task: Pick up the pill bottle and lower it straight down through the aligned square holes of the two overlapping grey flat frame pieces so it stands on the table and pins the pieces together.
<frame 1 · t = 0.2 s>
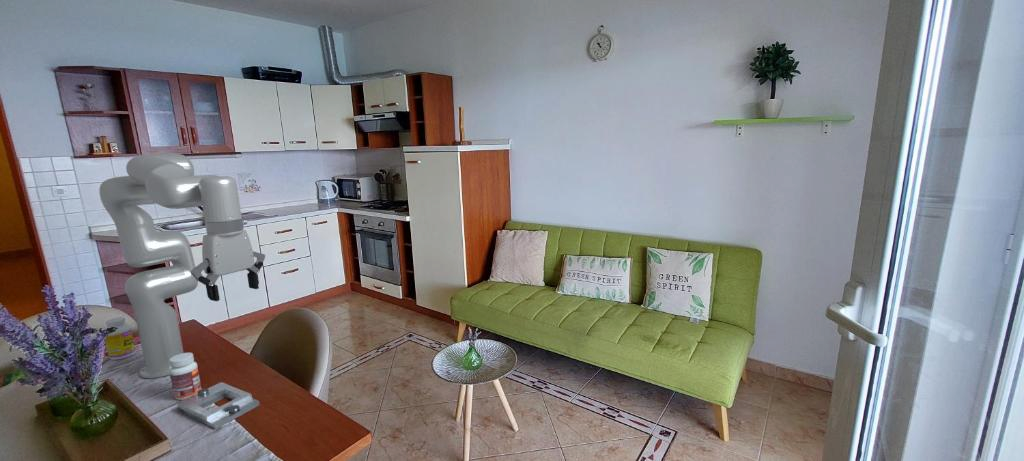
hand: (235, 294, 108), 31 cm above the table, tool pointing down, fingers open, 9 cm apart
supplement bottle: (122, 356, 143), on the table
pill bottle: (188, 395, 119), on the table
grey flat frame piece: (219, 408, 112), on the table
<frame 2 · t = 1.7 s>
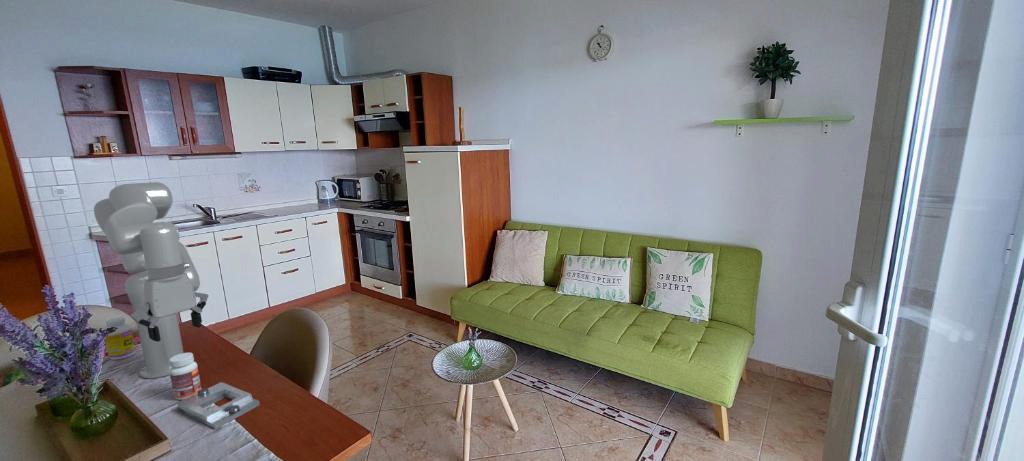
hand: (177, 333, 115), 18 cm above the table, tool pointing down, fingers open, 9 cm apart
nothing on the table moved.
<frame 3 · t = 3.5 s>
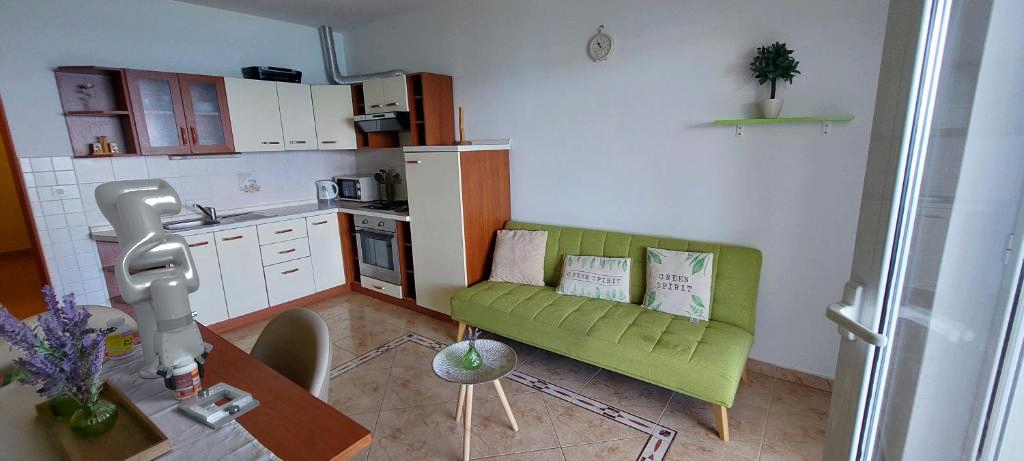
hand: (186, 382, 118), 4 cm above the table, tool pointing down, fingers closed on pill bottle, 6 cm apart
pill bottle: (188, 395, 119), on the table, touching gripper
everything else where it was.
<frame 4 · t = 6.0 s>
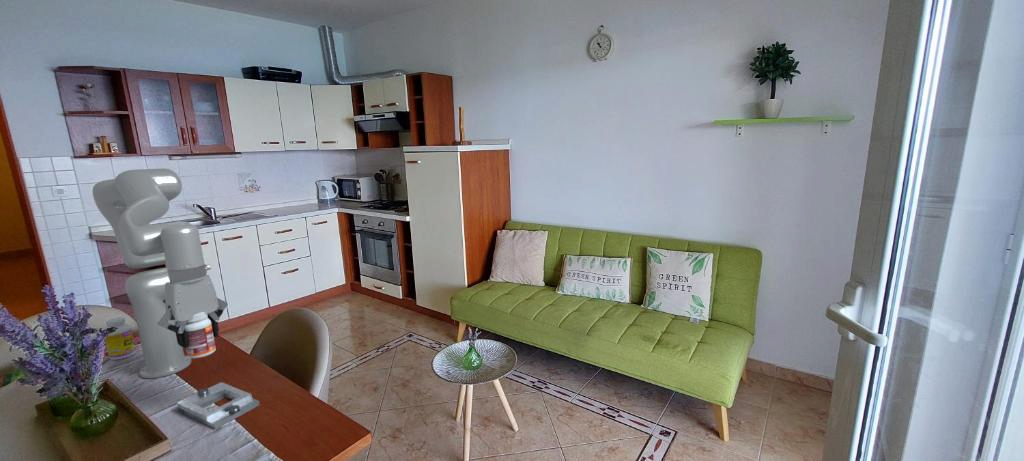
hand: (199, 340, 110), 18 cm above the table, tool pointing down, fingers closed on pill bottle, 6 cm apart
pill bottle: (202, 354, 111), point 14 cm above the table, touching gripper
everything else where it was.
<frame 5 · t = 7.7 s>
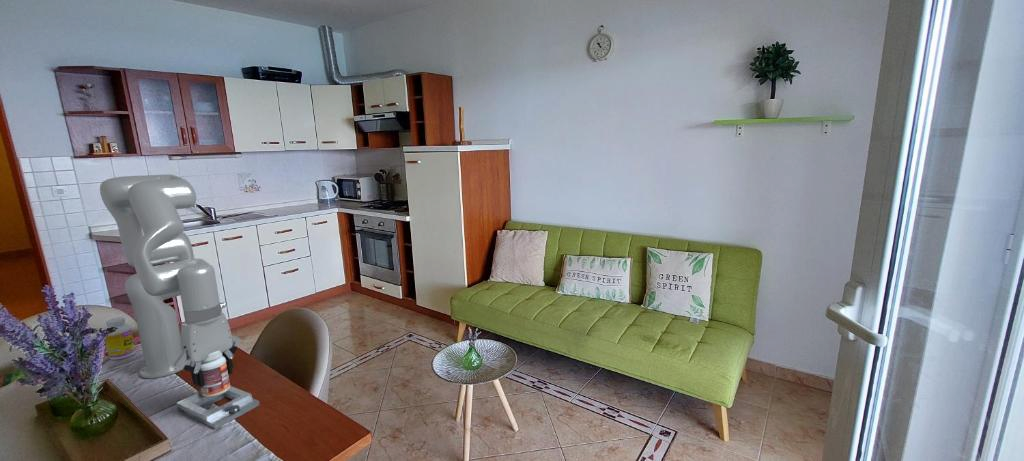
hand: (214, 378, 111), 8 cm above the table, tool pointing down, fingers closed on pill bottle, 6 cm apart
pill bottle: (216, 391, 111), point 5 cm above the table, touching gripper
everything else where it was.
when the fingers open (4 cm above the table, at t = 8.9 s): pill bottle stays where it is, resting in grey flat frame piece.
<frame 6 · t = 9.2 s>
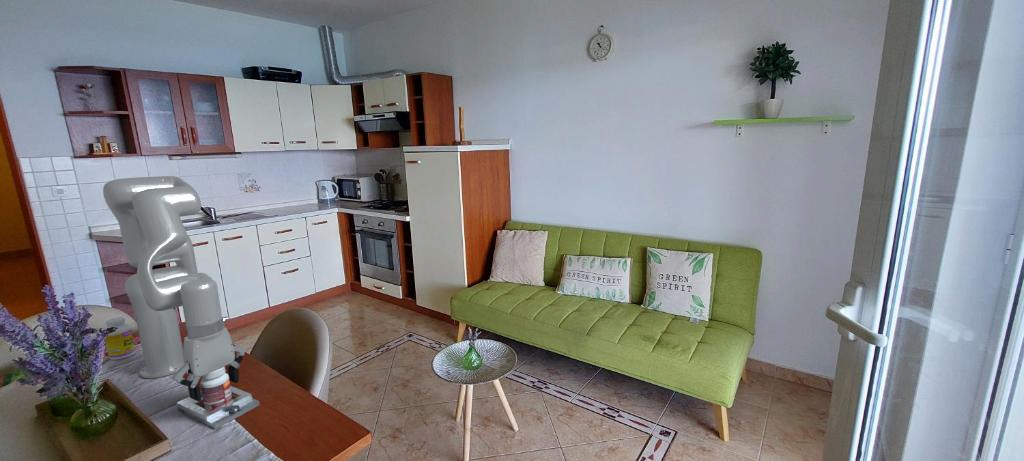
hand: (216, 390, 111), 5 cm above the table, tool pointing down, fingers open, 8 cm apart
pill bottle: (219, 408, 113), resting in grey flat frame piece
everything else where it was.
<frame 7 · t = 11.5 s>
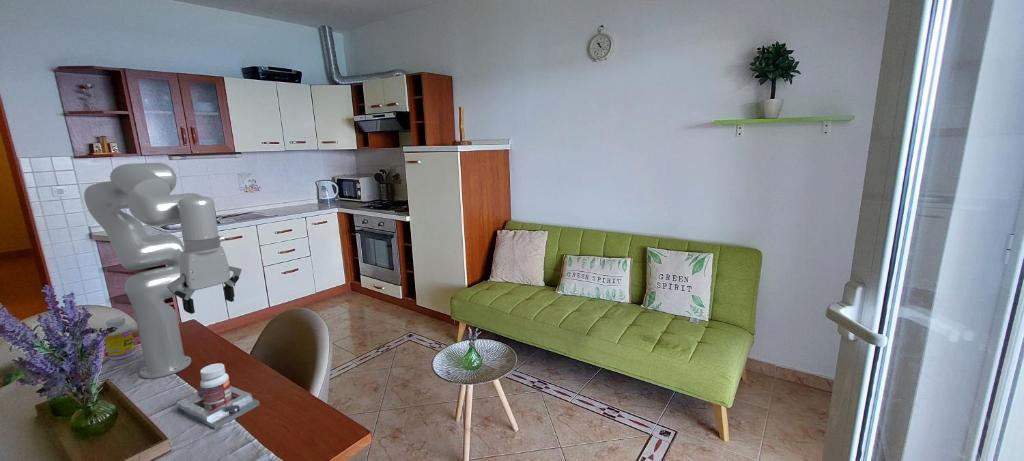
hand: (210, 306, 114), 25 cm above the table, tool pointing down, fingers open, 9 cm apart
nothing on the table moved.
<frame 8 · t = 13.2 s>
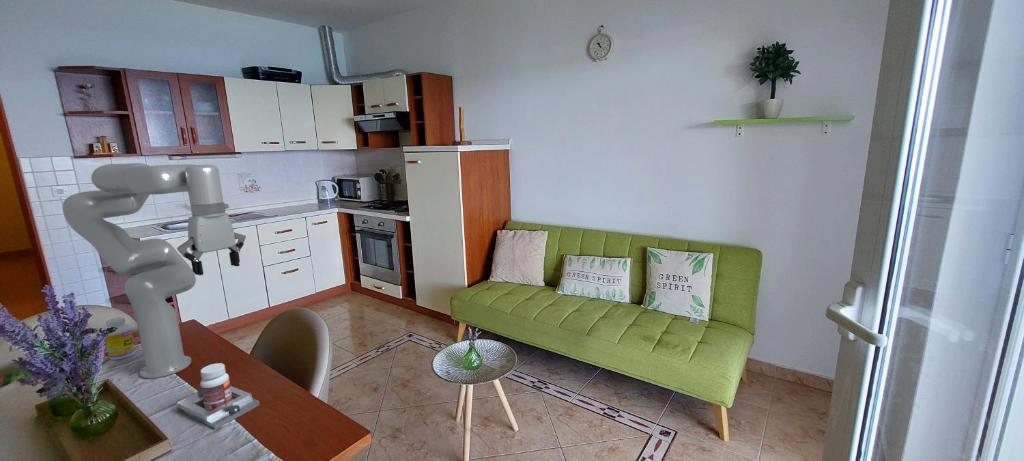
hand: (217, 270, 121), 33 cm above the table, tool pointing down, fingers open, 9 cm apart
nothing on the table moved.
at the end: pill bottle 0.3 cm off-centre on the grey flat frame piece, point 0.0 cm above the grey flat frame piece's base; pill bottle tilted 0°; the gripper is holding nothing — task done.
